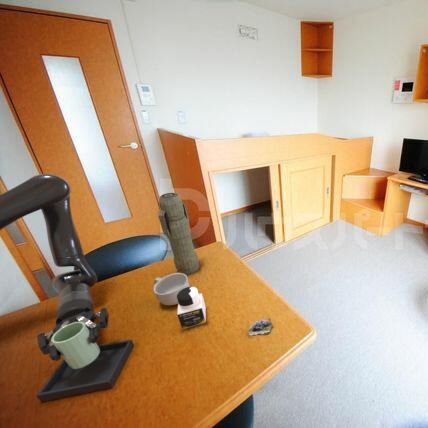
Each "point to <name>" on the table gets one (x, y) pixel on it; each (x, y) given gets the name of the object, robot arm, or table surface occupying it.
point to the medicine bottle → (191, 307)
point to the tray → (88, 373)
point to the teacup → (170, 287)
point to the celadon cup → (75, 345)
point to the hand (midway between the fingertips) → (75, 349)
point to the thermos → (178, 232)
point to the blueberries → (260, 327)
